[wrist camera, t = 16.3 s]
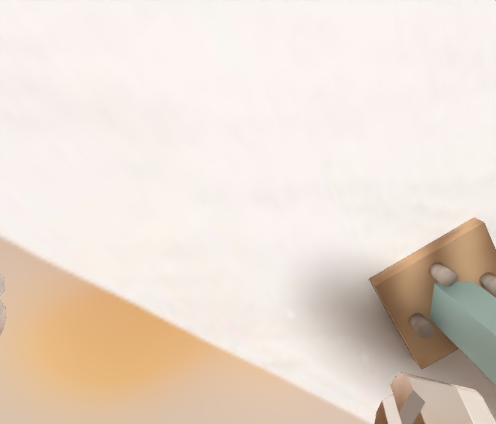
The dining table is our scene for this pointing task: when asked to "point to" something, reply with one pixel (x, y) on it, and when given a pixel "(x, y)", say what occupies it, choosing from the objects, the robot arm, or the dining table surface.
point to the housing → (422, 285)
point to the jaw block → (468, 322)
